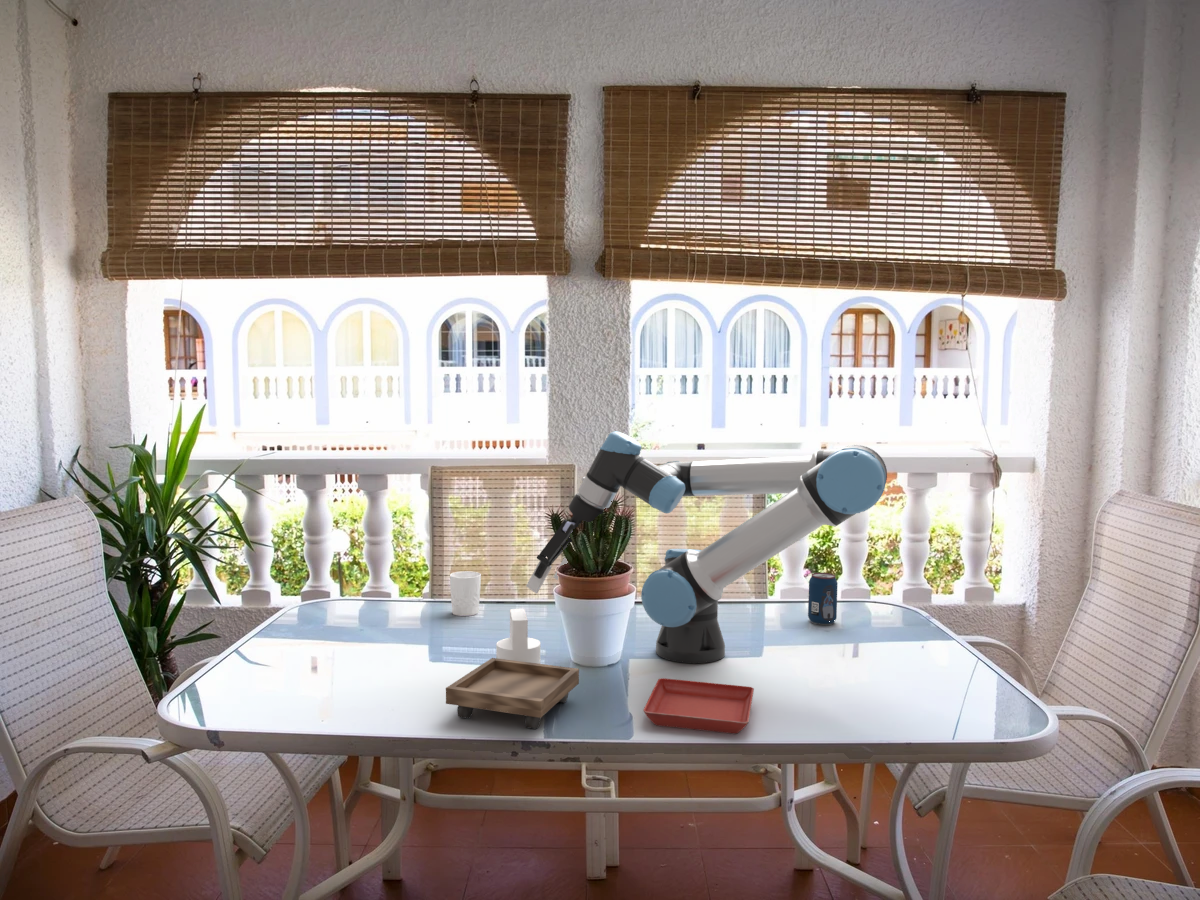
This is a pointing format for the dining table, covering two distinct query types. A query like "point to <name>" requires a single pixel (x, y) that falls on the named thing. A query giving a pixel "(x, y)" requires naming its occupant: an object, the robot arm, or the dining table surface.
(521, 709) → the cart
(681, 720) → the plant saucer
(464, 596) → the white cup
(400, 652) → the dining table surface
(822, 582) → the soda can
